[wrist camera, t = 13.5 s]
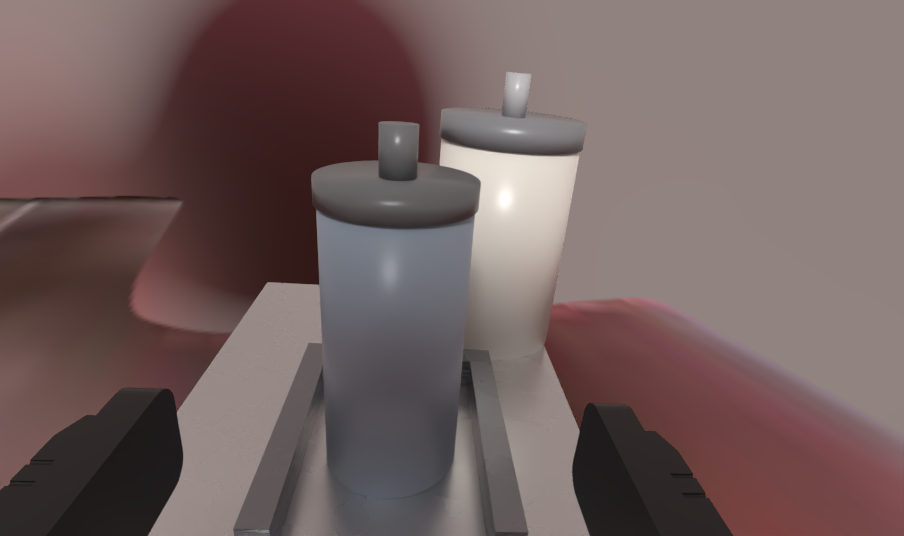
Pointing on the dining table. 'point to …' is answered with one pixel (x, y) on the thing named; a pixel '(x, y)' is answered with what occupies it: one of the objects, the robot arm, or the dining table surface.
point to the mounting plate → (305, 456)
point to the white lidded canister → (513, 214)
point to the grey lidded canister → (393, 313)
